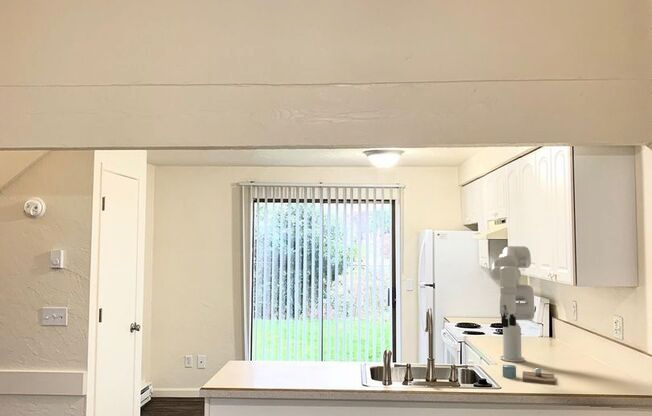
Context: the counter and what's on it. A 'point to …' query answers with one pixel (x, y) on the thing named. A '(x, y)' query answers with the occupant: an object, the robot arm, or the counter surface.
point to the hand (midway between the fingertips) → (508, 326)
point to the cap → (509, 371)
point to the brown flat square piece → (538, 378)
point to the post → (538, 372)
